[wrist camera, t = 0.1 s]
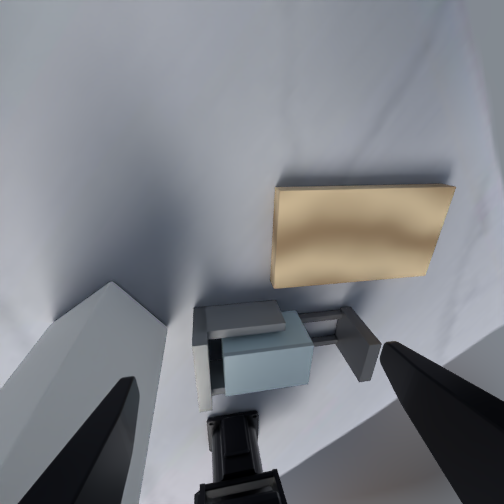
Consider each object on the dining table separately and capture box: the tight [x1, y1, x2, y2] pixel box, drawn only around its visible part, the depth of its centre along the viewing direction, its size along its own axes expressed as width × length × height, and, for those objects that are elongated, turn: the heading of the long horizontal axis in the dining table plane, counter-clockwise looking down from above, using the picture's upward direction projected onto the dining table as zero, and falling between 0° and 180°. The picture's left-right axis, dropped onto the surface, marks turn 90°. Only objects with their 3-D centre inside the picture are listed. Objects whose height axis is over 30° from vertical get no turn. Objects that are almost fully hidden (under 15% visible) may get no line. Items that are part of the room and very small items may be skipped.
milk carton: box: [0, 281, 167, 504], centre depth 16 cm, size 7×7×19 cm
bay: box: [192, 300, 286, 412], centre depth 25 cm, size 8×8×5 cm
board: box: [270, 184, 456, 289], centre depth 24 cm, size 9×16×2 cm, turn 89°
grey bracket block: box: [221, 307, 382, 396], centre depth 26 cm, size 14×5×6 cm, turn 89°
